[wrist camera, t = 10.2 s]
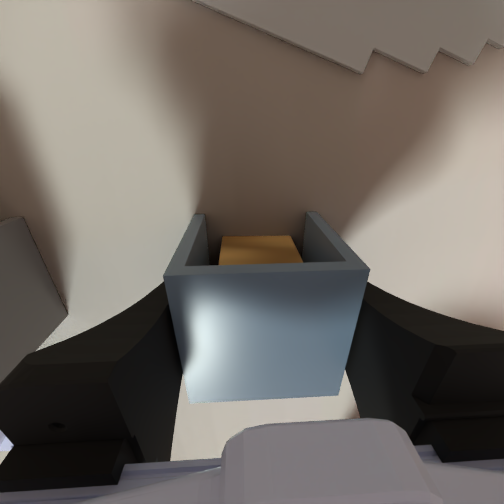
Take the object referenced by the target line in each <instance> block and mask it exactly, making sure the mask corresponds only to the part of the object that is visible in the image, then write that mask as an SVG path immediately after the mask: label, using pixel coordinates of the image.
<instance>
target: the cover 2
mask: <svg viewBox="0 0 504 504" xmlns="http://www.w3.org/2000/svg"><path fill="white" fill-rule="evenodd" d="M302 261H303V263H276V264H243V265H210V262H209V251H208V241H207V231H206V221H205V214H194V216H193V218H192V220H191V222H190V224H189V226H188V228H187V230H186V232H185V234H184V236H183V238H182V240H181V242H180V244H179V246H178V248H177V249H176V251H175V253H174V255H173V257H172V259H171V261H170V263H169V265H168V267H167V269H166V271H165V273H164V275H163V278H164V283H165V288H166V292H167V297H168V302H169V307H170V312H171V317H172V322H173V326H174V331H175V336H176V341H177V346H178V351H179V355H180V360H181V365H182V370H183V375H184V380H185V385H186V389H187V394H188V399H189V404H190V403H208V402H227V401H245V400H264V399H282V398H300V397H319V396H337V395H338V394H339V390H340V386H341V382H342V378H343V374H344V370H345V367H346V363H347V359H348V355H349V351H350V347H351V343H352V339H353V335H354V331H355V327H356V323H357V319H358V315H359V311H360V308H361V304H362V300H363V296H364V292H365V288H366V284H367V280H368V276H369V272H370V268H369V267H368V266H367V265H366V264H365V263H364V262H363V261H362V260H361V259H360V258H359V257H358V256H357V254H356V253H355V252H354V251H353V250H352V249H351V248H350V247H349V246H348V245H347V244H346V243H345V242H344V241H343V240H342V238H341V237H340V236H339V235H338V234H337V233H336V232H335V231H334V230H333V229H332V228H331V227H330V226H329V225H328V224H327V222H326V221H325V220H324V219H323V218H322V217H321V216H320V215H319V214H318V213H317V212H306V221H305V231H304V241H303V251H302Z"/></svg>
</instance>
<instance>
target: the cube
mask: <svg viewBox="0 0 504 504" xmlns="http://www.w3.org/2000/svg"><path fill="white" fill-rule="evenodd" d="M276 263H303V261H302V259H301V257H300V255H299V253H298V251H297V249H296V247H295V244H294V242H293V240H292V238H291V236H223V237H222V244H221V251H220V258H219V265H243V264H276Z"/></svg>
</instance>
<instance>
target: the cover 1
mask: <svg viewBox="0 0 504 504" xmlns="http://www.w3.org/2000/svg"><path fill="white" fill-rule="evenodd" d="M67 316H68V314H67V312H66V310H65V307H64V305H63V303H62V301H61V299H60V297H59V294H58V292H57V290H56V288H55V286H54V284H53V281H52V279H51V277H50V275H49V273H48V271H47V268H46V266H45V264H44V262H43V260H42V258H41V255H40V253H39V251H38V249H37V247H36V245H35V242H34V240H33V238H32V236H31V234H30V232H29V229H28V227H27V225H26V223H25V221H24V219H23V217H11V218H8V219H6V220H3V221H1V222H0V383H1V382H2V381H3V380H4V379H5V378H6V376H7V375H8V374H9V373H10V372H11V371H12V370H13V369H14V368H15V367H16V366H17V365H18V364H19V362H20V361H21V360H22V359H23V358H24V357H25V356H26V355H27V354H30V353H33V352H35V351H36V350H37V349H38V348H39V346H40V345H41V344H42V343H43V342H44V341H45V340H46V339H47V338H48V337H49V335H50V334H51V333H52V332H53V331H54V330H55V329H56V328H57V327H58V326H59V324H60V323H61V322H62V321H63V320H64V319H65V318H66V317H67Z"/></svg>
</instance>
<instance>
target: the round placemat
mask: <svg viewBox="0 0 504 504" xmlns="http://www.w3.org/2000/svg"><path fill="white" fill-rule="evenodd" d="M191 1H194V2H196V3H198V4H201V5H203V6H205V7H207V8H210V9H212V10H214V11H217V12H219V13H221V14H224V15H226V16H228V17H230V18H233V19H235V20H237V21H240V22H242V23H244V24H246V25H249V26H251V27H253V28H256V29H258V30H260V31H263V32H265V33H267V34H269V35H272V36H274V37H276V38H279V39H281V40H283V41H285V42H288V43H290V44H292V45H295V46H297V47H299V48H302V49H304V50H306V51H308V52H311V53H313V54H315V55H318V56H320V57H322V58H324V59H327V60H329V61H331V62H334V63H336V64H338V65H341V66H343V67H345V68H347V69H350V70H352V71H354V72H357V73H359V74H362V73H363V72H364V70H365V68H366V65H367V63H368V61H369V58H370V56H371V54H372V51H375V52H377V53H379V54H381V55H384V56H386V57H388V58H390V59H392V60H394V61H397V62H399V63H401V64H403V65H405V66H407V67H410V68H412V69H414V70H416V71H418V72H420V73H426V72H428V70H429V68H430V66H431V64H432V62H433V60H434V58H435V56H436V54H437V52H438V51H440V52H442V53H444V54H446V55H448V56H450V57H452V58H454V59H456V60H458V61H460V62H462V63H464V64H466V65H471V64H474V62H475V61H476V59H477V57H478V56H479V54H480V52H481V50H482V49H483V47H484V45H485V44H486V43H488V44H490V45H492V46H494V47H496V48H498V49H500V48H503V47H504V0H191Z"/></svg>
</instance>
